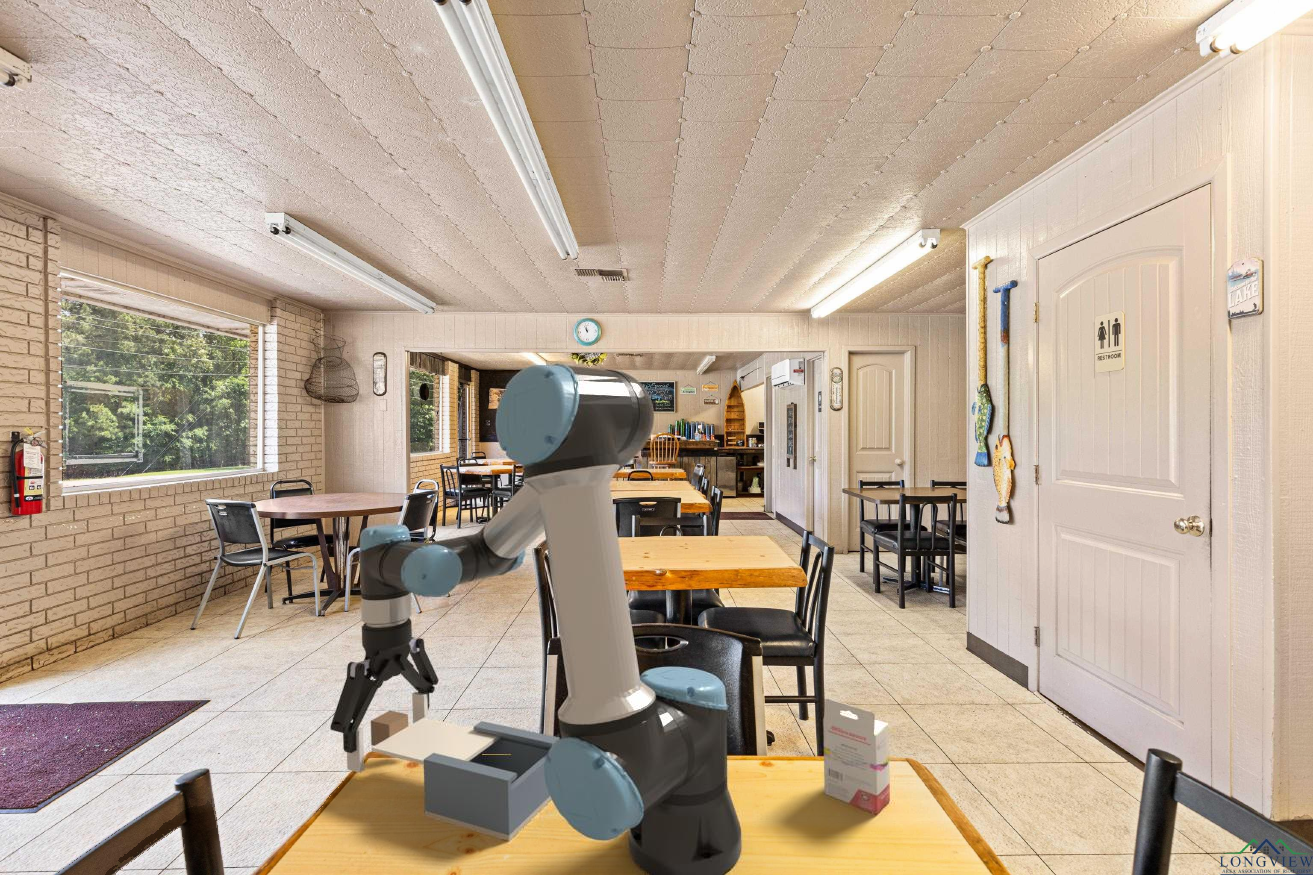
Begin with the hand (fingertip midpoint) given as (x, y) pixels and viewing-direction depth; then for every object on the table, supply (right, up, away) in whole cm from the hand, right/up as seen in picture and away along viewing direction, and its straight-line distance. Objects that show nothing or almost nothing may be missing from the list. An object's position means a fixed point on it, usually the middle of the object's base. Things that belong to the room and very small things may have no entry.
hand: (390, 749), depth 105 cm
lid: (+7, +1, -3) cm, 8 cm away
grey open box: (+19, -4, -8) cm, 21 cm away
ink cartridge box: (+74, -3, -8) cm, 74 cm away
